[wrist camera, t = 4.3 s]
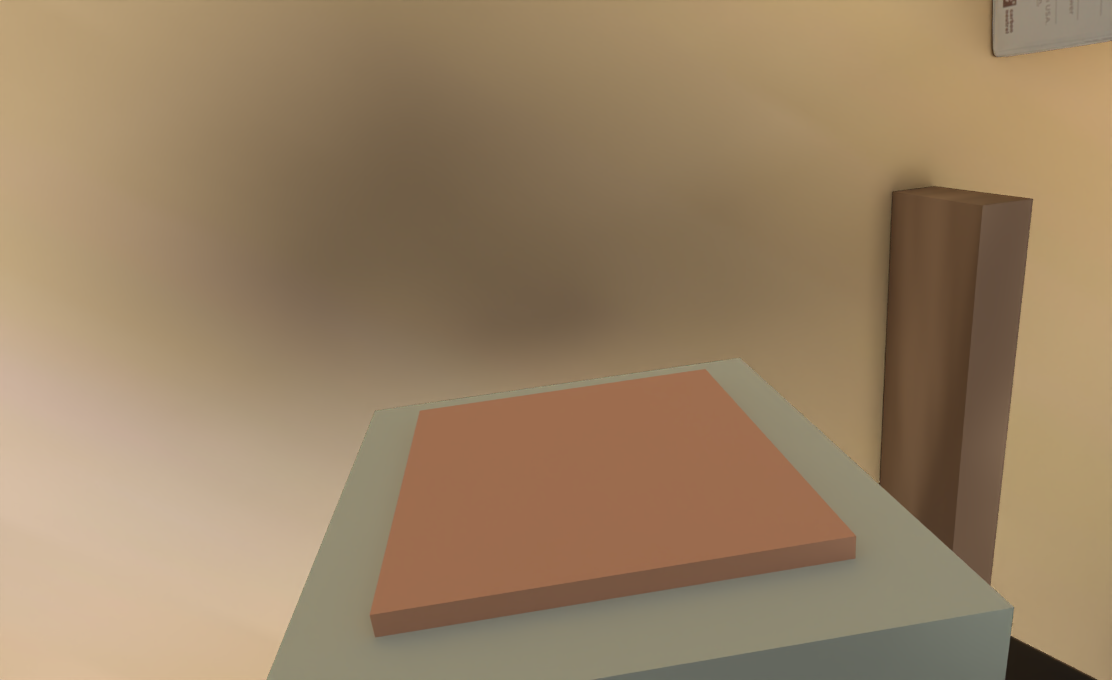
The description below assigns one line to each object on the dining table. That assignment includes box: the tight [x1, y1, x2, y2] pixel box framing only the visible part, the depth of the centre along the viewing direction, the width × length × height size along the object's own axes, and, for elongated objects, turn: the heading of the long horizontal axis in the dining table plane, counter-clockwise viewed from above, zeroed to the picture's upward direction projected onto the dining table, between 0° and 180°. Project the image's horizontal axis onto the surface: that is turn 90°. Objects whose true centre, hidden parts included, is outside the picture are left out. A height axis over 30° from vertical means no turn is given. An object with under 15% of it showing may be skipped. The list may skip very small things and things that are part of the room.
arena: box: [880, 186, 1033, 585], centre depth 20 cm, size 16×22×4 cm
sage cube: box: [267, 358, 1014, 680], centre depth 7 cm, size 5×5×5 cm
